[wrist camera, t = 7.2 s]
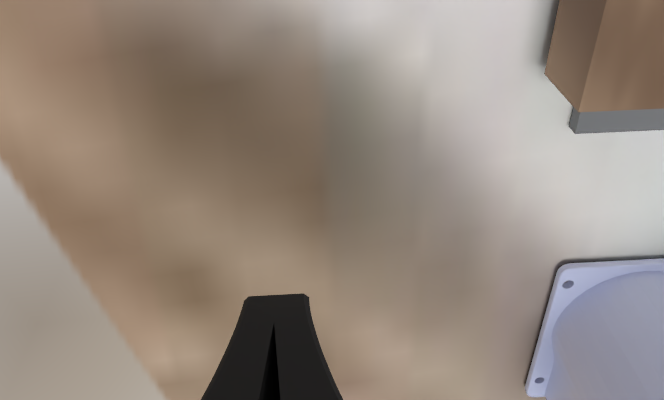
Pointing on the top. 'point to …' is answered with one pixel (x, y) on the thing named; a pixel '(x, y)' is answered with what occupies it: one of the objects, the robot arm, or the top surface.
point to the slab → (608, 54)
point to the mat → (617, 121)
